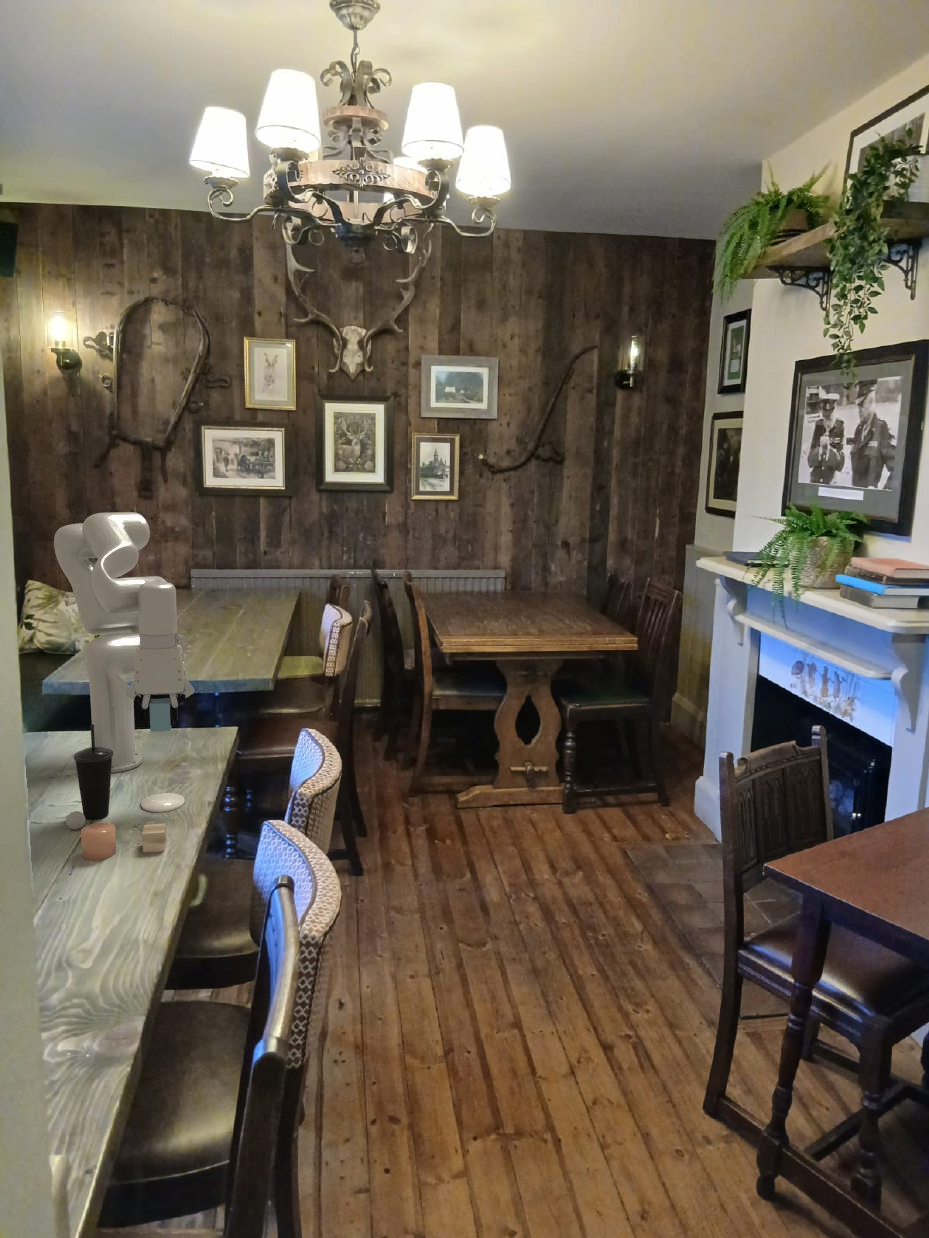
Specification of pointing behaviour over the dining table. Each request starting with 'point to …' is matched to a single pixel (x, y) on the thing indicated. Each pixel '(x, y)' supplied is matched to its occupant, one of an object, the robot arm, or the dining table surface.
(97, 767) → the drinking cup
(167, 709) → the teal block
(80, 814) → the grey ball
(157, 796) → the cream shiny round part
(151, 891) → the dining table surface
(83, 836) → the peach cylinder
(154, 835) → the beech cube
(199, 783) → the dining table surface
